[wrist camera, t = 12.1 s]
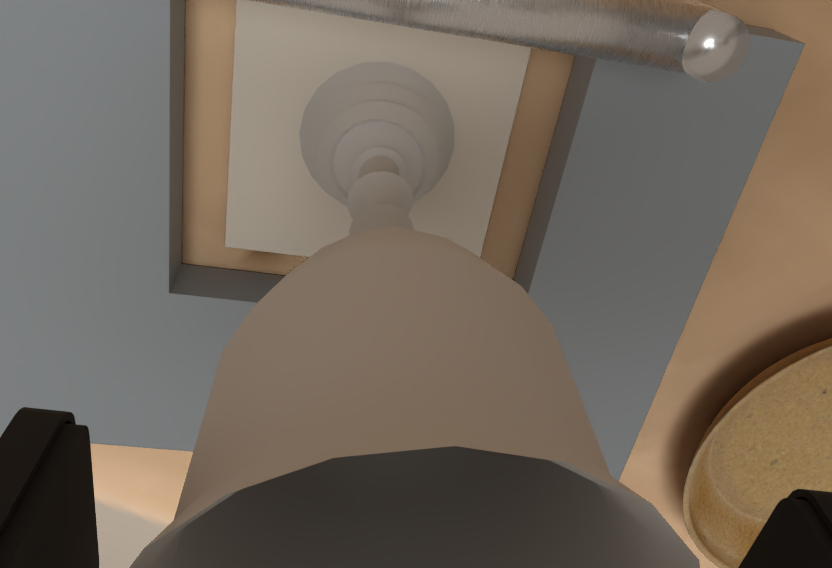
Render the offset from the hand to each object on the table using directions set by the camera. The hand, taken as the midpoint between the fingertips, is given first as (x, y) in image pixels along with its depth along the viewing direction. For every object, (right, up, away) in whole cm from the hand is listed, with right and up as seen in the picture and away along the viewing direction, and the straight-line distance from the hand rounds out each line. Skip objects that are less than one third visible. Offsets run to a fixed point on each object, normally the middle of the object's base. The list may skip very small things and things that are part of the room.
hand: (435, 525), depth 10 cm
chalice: (-2, +8, +14) cm, 16 cm away
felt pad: (-2, +8, +14) cm, 16 cm away
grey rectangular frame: (-2, +5, +16) cm, 17 cm away
